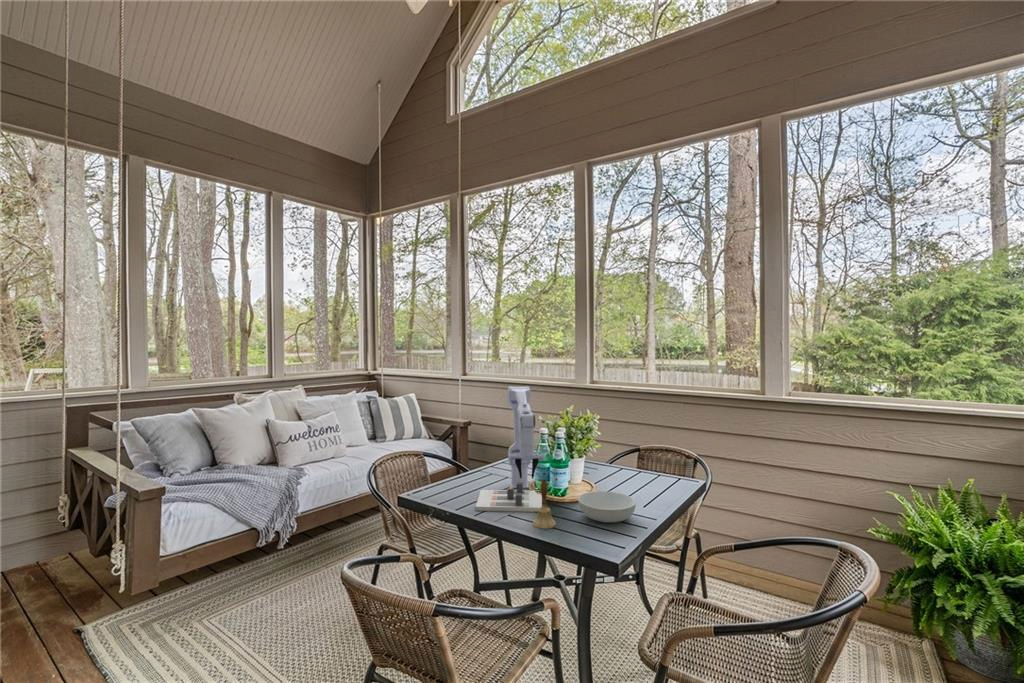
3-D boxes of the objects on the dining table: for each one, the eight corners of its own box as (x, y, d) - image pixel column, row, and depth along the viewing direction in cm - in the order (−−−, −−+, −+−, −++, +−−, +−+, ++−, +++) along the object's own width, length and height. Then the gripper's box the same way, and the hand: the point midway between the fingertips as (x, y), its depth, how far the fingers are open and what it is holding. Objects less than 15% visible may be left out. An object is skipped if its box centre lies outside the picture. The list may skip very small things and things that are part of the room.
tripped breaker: (507, 495, 193) (507, 486, 193) (513, 495, 193) (513, 486, 193) (507, 498, 190) (507, 489, 190) (513, 498, 190) (513, 489, 190)
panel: (481, 493, 202) (481, 480, 202) (542, 494, 201) (542, 481, 201) (475, 510, 182) (475, 496, 182) (543, 511, 181) (543, 497, 181)
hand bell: (527, 524, 169) (527, 479, 169) (543, 518, 175) (543, 474, 175) (545, 531, 163) (545, 484, 163) (560, 524, 169) (560, 479, 169)
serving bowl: (646, 518, 175) (646, 499, 175) (614, 534, 160) (614, 514, 160) (599, 503, 190) (599, 486, 190) (566, 517, 175) (566, 499, 175)
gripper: (508, 445, 187) (508, 480, 187) (545, 446, 187) (545, 480, 187) (509, 442, 194) (509, 475, 194) (544, 442, 194) (544, 475, 194)
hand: (526, 477), depth 191 cm, fingers open, 4 cm apart
